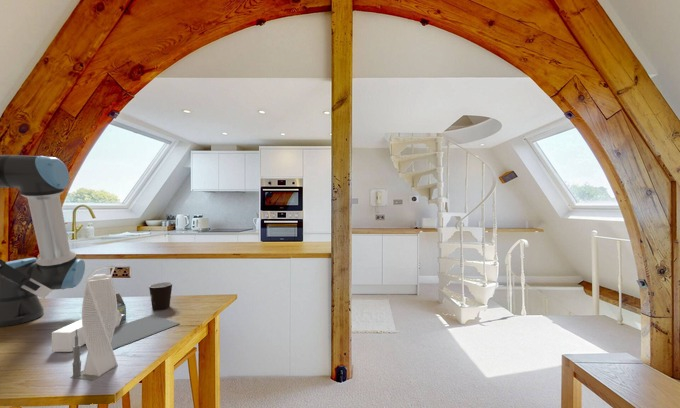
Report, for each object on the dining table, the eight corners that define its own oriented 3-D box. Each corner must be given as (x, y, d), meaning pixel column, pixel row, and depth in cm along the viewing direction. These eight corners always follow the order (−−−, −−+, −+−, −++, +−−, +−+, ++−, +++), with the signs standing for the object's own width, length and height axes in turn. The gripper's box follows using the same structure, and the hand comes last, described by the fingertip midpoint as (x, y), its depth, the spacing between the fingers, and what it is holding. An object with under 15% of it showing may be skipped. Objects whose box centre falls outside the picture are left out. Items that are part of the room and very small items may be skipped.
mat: (77, 340, 98) (77, 339, 98) (152, 315, 119) (152, 314, 119) (103, 353, 89) (103, 352, 89) (179, 324, 111) (179, 323, 111)
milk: (51, 351, 90) (109, 322, 112) (70, 352, 90) (125, 322, 112) (51, 331, 90) (109, 306, 112) (70, 332, 90) (125, 306, 112)
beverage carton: (100, 325, 110) (100, 308, 110) (96, 311, 124) (96, 296, 124) (126, 319, 115) (126, 303, 115) (120, 307, 130) (120, 292, 130)
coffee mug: (169, 310, 125) (169, 286, 125) (146, 312, 122) (145, 288, 122) (176, 301, 136) (176, 279, 136) (155, 303, 134) (155, 281, 134)
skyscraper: (101, 361, 85) (100, 265, 85) (125, 364, 84) (124, 266, 84) (70, 378, 77) (69, 272, 77) (97, 381, 76) (95, 273, 76)
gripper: (-74, 254, 71) (25, 302, 85) (-60, 259, 65) (44, 310, 79) (-38, 230, 75) (50, 279, 90) (-23, 232, 69) (69, 285, 84)
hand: (47, 294), depth 85 cm, fingers closed
